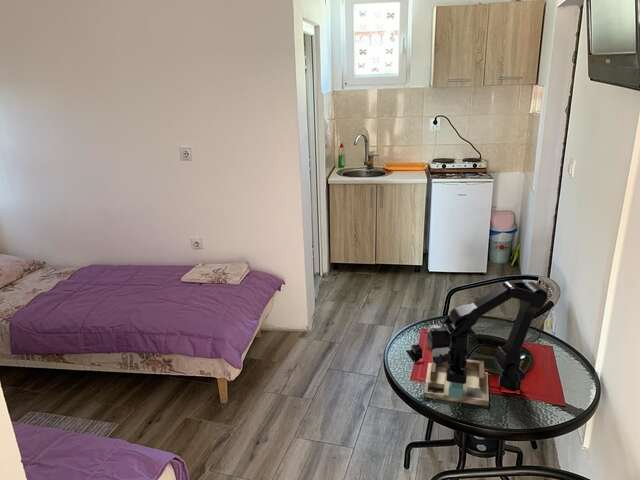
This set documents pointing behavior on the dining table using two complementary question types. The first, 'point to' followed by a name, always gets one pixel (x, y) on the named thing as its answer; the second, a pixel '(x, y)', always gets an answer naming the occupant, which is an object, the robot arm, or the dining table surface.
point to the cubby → (471, 365)
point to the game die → (434, 327)
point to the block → (455, 390)
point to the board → (470, 388)
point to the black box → (415, 353)
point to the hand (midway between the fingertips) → (455, 383)
